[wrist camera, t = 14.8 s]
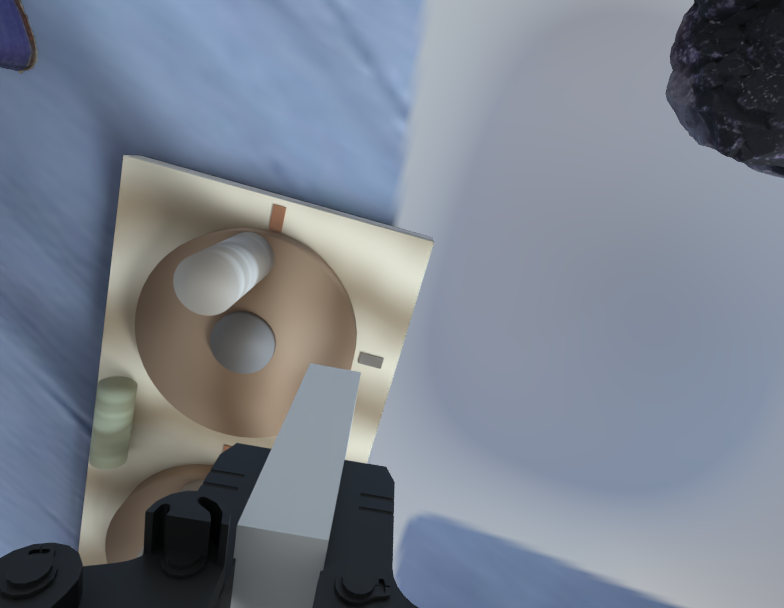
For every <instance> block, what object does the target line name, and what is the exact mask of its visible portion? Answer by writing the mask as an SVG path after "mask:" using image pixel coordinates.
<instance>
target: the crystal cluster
mask: <svg viewBox="0 0 784 608" xmlns="http://www.w3.org/2000/svg"><path fill="white" fill-rule="evenodd" d="M670 63H671V66H672V69H673V71H672V73H671V75H670V79H669V82H668V85H667V90H666V97H667V101H668V102H669V104H670V105H671V107H672V108H673V110H674V112H675V113H676V115H677V117H678V119H679V121H680V123H681V124H682V125H683V127H684V128H685V129H686V130H687V131H688V132H689V135H690V136H691V137H693V138H694V139H695V140H696V141H697V142H698V144H699V145H702V146H707V147H710V148H713V149H716V150H717V151H718V152H720V153H721V154H723V155H725V156H727V157H732V158H733V159H735V160H736V161H738V162H742V163H745V164H746V165H747V166H748V167H750V168H752V169H754V170H756V171H758V172H761V173H765V174H769V175H772V176H777V177H782V178H784V0H694V4H693V6H692V7H691V8H690V9H689V11H688V12H687V13H686V14H685V15H684V17H683V20H682V22H681V25H680V27H679V29H678V31H677V34H676V38H675V42H674V44H673V46H672V48H671V54H670Z"/></svg>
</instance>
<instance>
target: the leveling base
mask: <svg viewBox="0 0 784 608" xmlns="http://www.w3.org/2000/svg"><path fill="white" fill-rule="evenodd" d="M235 227H252V228H261V229H266V230H271V231H275V232H278V233H281V234H284V235H286V236H289V237H291V238H293V239H295V240H297V241H299V242H301V243H303V244H304V245H306V246H307V247H309V248H310V249H312V250H313V251H314V252H315V253H317V254H318V255H319V256H320V257H321V258H322V259H324V260H325V261H326V263H327V264H328V265H329V266H330V267H331V268H332V269H333V270H334V272H335V273H336V274H337V276H338V277H339V279H340V280H341V282H342V283H343V285H344V287H345V289H346V291H347V293H348V295H349V298H350V300H351V303H352V306H353V309H354V314H355V319H356V328H357V340H356V349H355V354H354V359H353V363H352V367H351V371H357V372H361V376H360V381H359V387H358V392H357V398H356V403H355V409H354V414H353V420H352V425H351V431H350V436H349V442H348V447H347V453H346V458H345V460H349V461H355V462H361V463H366V464H367V462H368V459H369V455H370V452H371V449H372V445H373V442H374V439H375V435H376V432H377V429H378V426H379V422H380V419H381V416H382V412H383V409H384V405H385V402H386V399H387V396H388V393H389V389H390V386H391V383H392V379H393V376H394V373H395V369H396V366H397V363H398V360H399V356H400V353H401V350H402V346H403V343H404V340H405V337H406V333H407V330H408V327H409V323H410V320H411V317H412V313H413V310H414V307H415V304H416V300H417V297H418V294H419V290H420V287H421V284H422V280H423V277H424V274H425V271H426V267H427V264H428V260H429V257H430V254H431V251H432V248H433V244H434V241H433V238H432V237H429V236H425V235H422V234H418V233H415V232H411V231H408V230H404V229H401V228H397V227H393V226H390V225H386V224H383V223H379V222H376V221H372V220H368V219H365V218H361V217H358V216H354V215H351V214H347V213H344V212H340V211H336V210H333V209H329V208H326V207H322V206H319V205H315V204H311V203H308V202H304V201H301V200H297V199H294V198H290V197H286V196H283V195H279V194H276V193H272V192H269V191H265V190H262V189H258V188H254V187H251V186H247V185H244V184H240V183H237V182H233V181H229V180H226V179H222V178H219V177H215V176H212V175H208V174H205V173H201V172H197V171H194V170H190V169H187V168H183V167H180V166H176V165H172V164H169V163H165V162H162V161H158V160H155V159H151V158H147V157H144V156H140V155H123V164H122V173H121V182H120V191H119V199H118V208H117V217H116V226H115V234H114V243H113V252H112V261H111V269H110V278H109V287H108V296H107V305H106V313H105V322H104V331H103V340H102V348H101V357H100V366H99V375H98V384H97V392H96V401H95V410H94V419H93V427H92V436H91V445H90V454H89V462H88V471H87V480H86V489H85V498H84V506H83V515H82V524H81V533H80V541H79V550H78V553H79V554H80V557H81V561H82V564H83V566H90V565H100V564H108V563H107V560H106V552H105V539H106V534H107V529H108V527H109V524H110V522H111V520H112V518H113V516H114V515H115V513H116V511H117V510H118V509H119V508H120V506H121V505H122V504H123V503H124V501H125V500H126V499H127V498H128V496H129V495H130V494H131V493H132V492H133V491H134V489H135V488H136V487H137V486H138V485H139V484H141V483H142V482H143V481H144V480H146V479H147V478H149V477H150V476H152V475H154V474H156V473H158V472H160V471H163V470H165V469H169V468H172V467H176V466H182V465H190V464H205V465H214V463H215V462H216V460H217V458H218V457H219V455H220V454H221V453H223V452H224V451H226V450H227V449H228V448H230V447H231V446H233V445H234V444H236V443H241V444H247V445H253V446H259V447H264V448H270V449H272V447H273V445H274V442H275V440H276V438H277V436H272V437H264V438H247V437H237V436H232V435H227V434H223V433H220V432H217V431H213V430H211V429H209V428H206V427H204V426H202V425H199V424H198V423H196V422H194V421H193V420H191V419H189V418H187V417H186V416H185V415H183V414H182V413H181V412H179V411H178V410H177V409H175V408H174V407H173V406H172V405H171V404H170V403H169V402H168V401H167V400H166V399H165V398H164V397H163V396H162V394H161V393H160V392H159V391H158V390H157V388H156V387H155V385H154V384H153V382H152V381H151V379H150V378H149V376H148V374H147V372H146V370H145V368H144V366H143V363H142V361H141V358H140V355H139V352H138V347H137V343H136V336H135V313H136V308H137V303H138V298H139V296H140V293H141V290H142V288H143V285H144V284H145V282H146V280H147V278H148V276H149V274H150V273H151V272H152V271H153V269H154V268H155V267H156V265H157V264H158V263H159V262H160V261H161V260H162V259H163V258H164V257H165V256H166V255H167V254H169V253H170V252H171V251H173V250H174V249H176V248H177V247H178V246H180V245H182V244H184V243H186V242H188V241H190V240H192V239H194V238H197V237H199V236H202V235H205V234H208V233H211V232H214V231H217V230H222V229H227V228H235Z"/></svg>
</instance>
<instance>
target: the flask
mask: <svg viewBox="0 0 784 608" xmlns="http://www.w3.org/2000/svg"><path fill="white" fill-rule="evenodd" d="M37 55H38V50H37V48H36V41H35V37H34V35H33V32H32V30H31V27H30V24H29V21H28V17H27V15H26V14H25V12H24V8H23V6H22V4H21V1H20V0H0V67H2V68H6V69H12V70H15V71H19V72H20V73H22V71H25V70H28V69H31V68H33V67H34V65H35V64H36V63H37V61H38V60H37Z"/></svg>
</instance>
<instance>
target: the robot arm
mask: <svg viewBox="0 0 784 608" xmlns="http://www.w3.org/2000/svg"><path fill="white" fill-rule="evenodd" d="M360 376H361V372H357V371H351V370H345V369H340V368H334V367H329V366H323V365H317V364H312V363H310V365H309V367H308V369H307V371H306V374H305V376H304V378H303V380H302V383H301V385H300V387H299V389H298V391H297V394H296V396H295V398H294V400H293V402H292V405H291V407H290V409H289V411H288V414H287V416H286V418H285V420H284V422H283V425H282V427H281V429H280V431H279V433H278V436H277V438H276V440H275V442H274V445H273V447H272V449H270V448H264V447H259V446H253V445H247V444H241V443H236V444H234V445H233V446H231V447H230V448H228V449H227V450H226V451H224V452H223V453H221V454H220V455H219V457H218V458H217V460H216V462H215V463H214V465H213V467H212V468H211V471H210V472H209V473H208V475H207V476H206V478H205V479H204V481H203V484H202V485H201V486H200V488H199V489H198V491H183V492H178V493H173V494H170V495H168V496H166V497H164V498H162V499H160V500H158V501H156V502H155V503H154V504H153V505H152V506H150V507H149V508H148V509H147V510H146V511H145V529H144V549H143V555H142V556H140V557H137V558H135V559H132V560H128V561H123V562H117V563H109V564H100V565H90V566H83V564H82V561H81V557H80V554H79V553H78V552H77V551H75V550H74V549H73V548H71V547H70V546H67V545H62V544H57V543H43V544H33V545H30V546H27V547H24V548H21V549H18V550H14V551H12V552H10V553H9V554H7V555H5V556H3V557H1V558H0V608H418V607H417V606H415V605H413V604H412V603H411V602H410V601H409V600H408V599H407V598H406V597H405V596H404V595H403V594H402V592H401V591H400V590H399V588H398V587H397V584H396V582H395V580H394V577H393V569H392V561H393V522H394V516H393V513H394V481H393V479H392V477H391V475H390V473H389V472H388V470H387V468H386V467H384V466H378V465H372V464H366V463H361V462H355V461H349V460H345V458H346V453H347V447H348V442H349V436H350V431H351V425H352V420H353V414H354V409H355V403H356V398H357V392H358V387H359V381H360Z"/></svg>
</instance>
